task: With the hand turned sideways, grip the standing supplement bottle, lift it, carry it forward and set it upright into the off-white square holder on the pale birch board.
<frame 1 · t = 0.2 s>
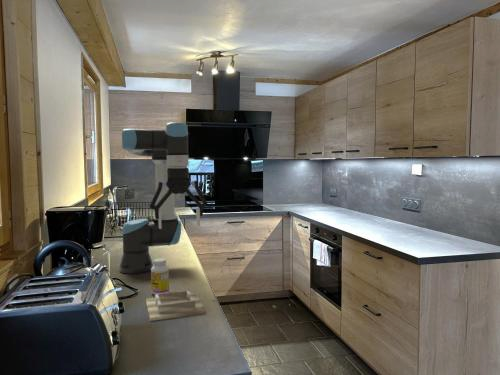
hand: (179, 226, 136), 27 cm above the worktop, tool pointing down, fingers open, 13 cm apart
holder board: (174, 307, 131), on the worktop
supplement bottle: (160, 293, 146), on the worktop
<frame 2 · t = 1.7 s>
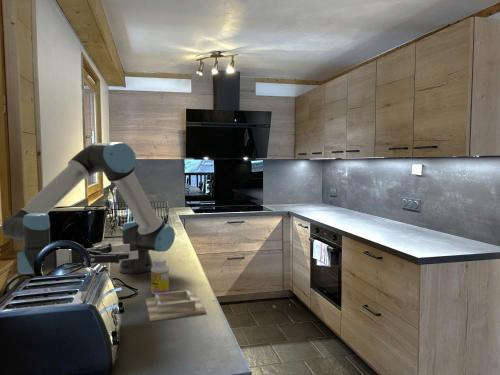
hand: (133, 250, 140), 17 cm above the worktop, tool horizontal, fingers open, 13 cm apart
nothing on the worktop moved.
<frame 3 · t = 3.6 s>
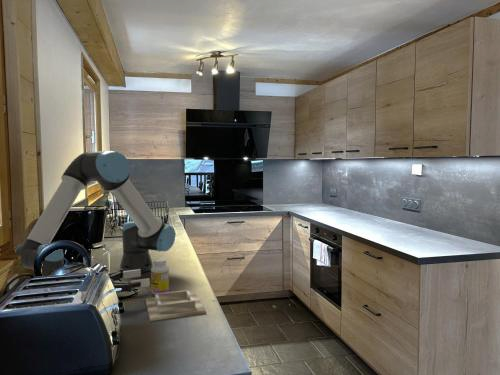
hand: (144, 277, 142), 7 cm above the worktop, tool horizontal, fingers open, 13 cm apart
nothing on the worktop moved.
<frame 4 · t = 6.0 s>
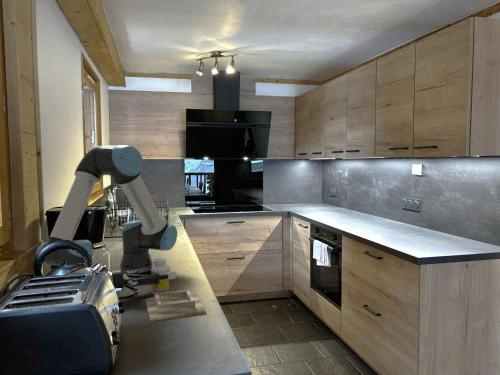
hand: (172, 272, 148), 7 cm above the worktop, tool horizontal, fingers closed on supplement bottle, 7 cm apart
supplement bottle: (160, 293, 146), on the worktop, touching gripper
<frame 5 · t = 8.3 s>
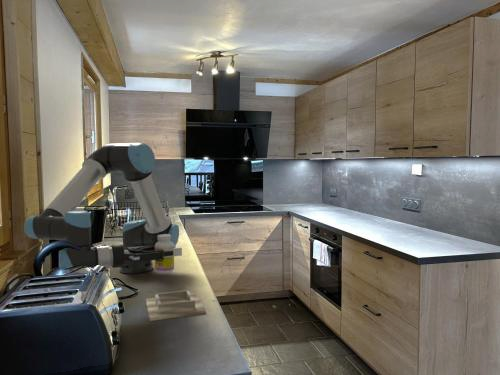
hand: (178, 249, 137), 19 cm above the worktop, tool horizontal, fingers closed on supplement bottle, 7 cm apart
supplement bottle: (164, 271, 135), point 11 cm above the worktop, touching gripper
when the fingers open (10 cm above the worktop, at t = 10.7 s): supplement bottle drops 1 cm, resting on holder board.
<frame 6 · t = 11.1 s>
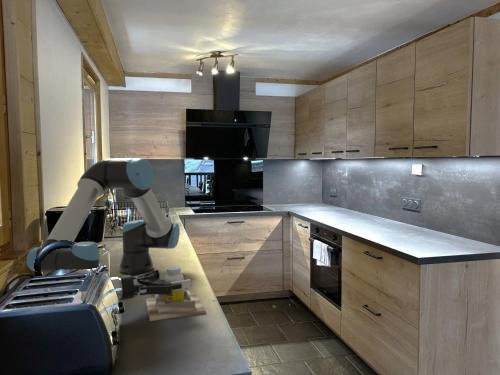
hand: (183, 278, 132), 10 cm above the worktop, tool horizontal, fingers open, 13 cm apart
supplement bottle: (174, 305, 131), point 1 cm above the worktop, touching holder board
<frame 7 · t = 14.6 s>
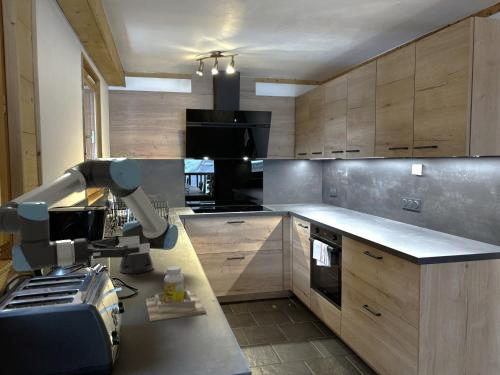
hand: (144, 243, 125), 23 cm above the worktop, tool horizontal, fingers open, 13 cm apart
nothing on the worktop moved.
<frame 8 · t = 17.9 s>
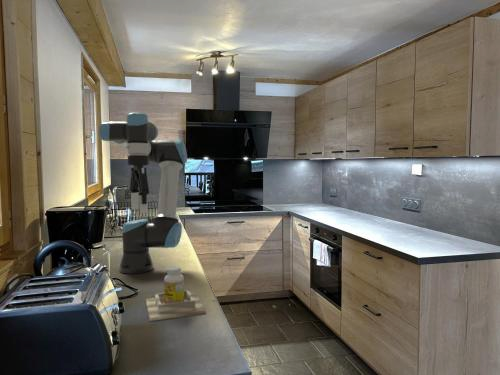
hand: (139, 211, 144), 32 cm above the worktop, tool pointing down, fingers open, 13 cm apart
nothing on the worktop moved.
at the end: supplement bottle 0.2 cm off-centre on the holder board, point 0.8 cm above the holder board's base; supplement bottle tilted 0°; the gripper is holding nothing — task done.
